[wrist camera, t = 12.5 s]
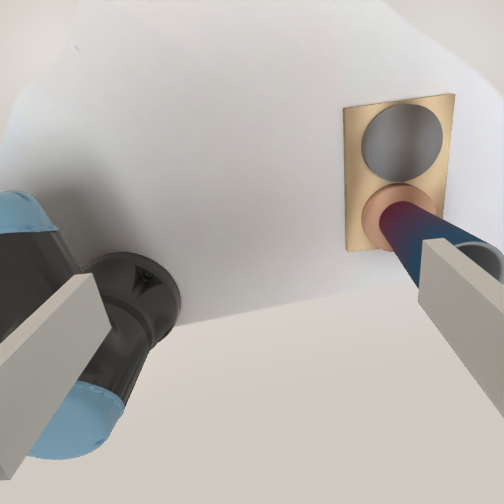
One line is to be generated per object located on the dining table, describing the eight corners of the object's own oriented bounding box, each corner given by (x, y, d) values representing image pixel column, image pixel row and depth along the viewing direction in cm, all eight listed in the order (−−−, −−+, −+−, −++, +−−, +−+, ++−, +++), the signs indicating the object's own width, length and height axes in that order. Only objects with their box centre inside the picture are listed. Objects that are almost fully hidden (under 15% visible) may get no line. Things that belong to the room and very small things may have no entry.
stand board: (346, 249, 47) (350, 258, 45) (343, 108, 40) (349, 109, 37) (436, 239, 46) (447, 248, 44) (450, 93, 39) (464, 93, 36)
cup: (368, 246, 44) (415, 314, 30) (374, 194, 41) (429, 242, 27) (423, 245, 44) (495, 313, 30) (433, 192, 41) (518, 240, 27)
